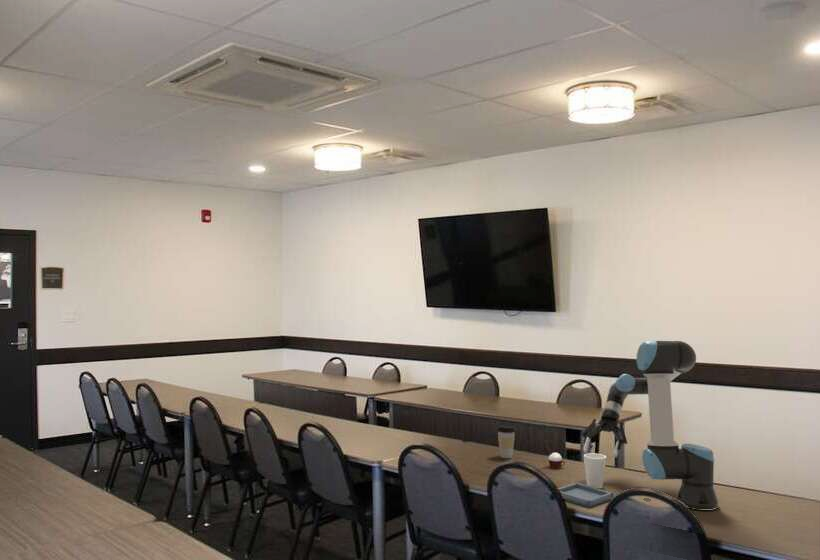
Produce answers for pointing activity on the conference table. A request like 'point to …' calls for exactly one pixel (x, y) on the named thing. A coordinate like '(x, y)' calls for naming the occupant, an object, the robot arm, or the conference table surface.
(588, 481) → the foam cup
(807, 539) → the conference table surface
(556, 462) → the cocoa
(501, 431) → the coffee cup
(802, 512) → the conference table surface
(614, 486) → the conference table surface
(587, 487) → the tray
